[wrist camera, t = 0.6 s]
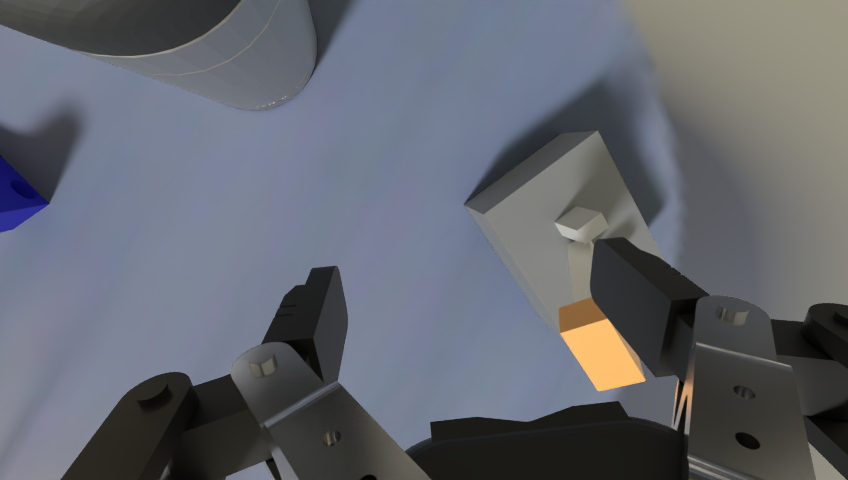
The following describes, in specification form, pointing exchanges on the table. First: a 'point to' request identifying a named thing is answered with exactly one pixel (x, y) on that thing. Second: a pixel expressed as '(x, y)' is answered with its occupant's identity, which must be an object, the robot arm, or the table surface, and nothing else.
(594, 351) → the lever
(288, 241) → the table surface
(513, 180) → the block
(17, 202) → the cable clip
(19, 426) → the table surface
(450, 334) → the table surface
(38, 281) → the table surface
